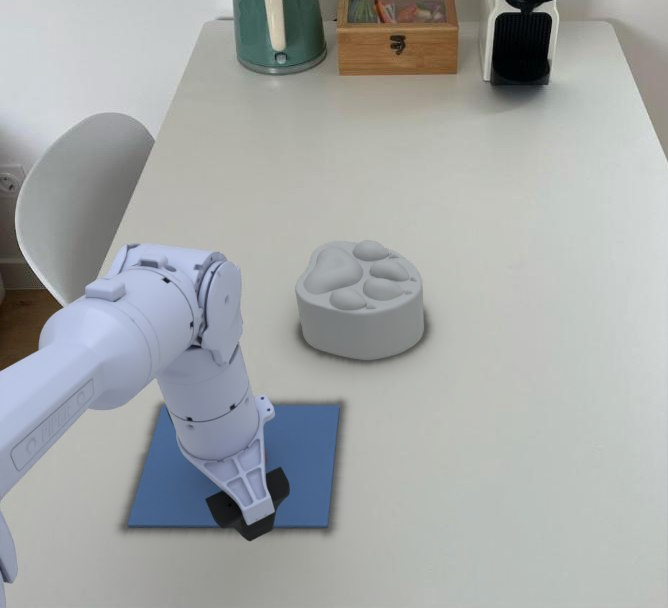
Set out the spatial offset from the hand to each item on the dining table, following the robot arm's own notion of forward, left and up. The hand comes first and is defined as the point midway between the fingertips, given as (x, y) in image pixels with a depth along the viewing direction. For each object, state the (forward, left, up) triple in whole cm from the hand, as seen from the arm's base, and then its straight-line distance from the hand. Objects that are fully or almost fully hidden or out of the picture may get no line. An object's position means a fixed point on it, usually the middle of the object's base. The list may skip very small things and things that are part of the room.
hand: (241, 493), depth 64 cm
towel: (+6, +7, -9) cm, 13 cm away
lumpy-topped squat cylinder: (+27, +6, -10) cm, 29 cm away
